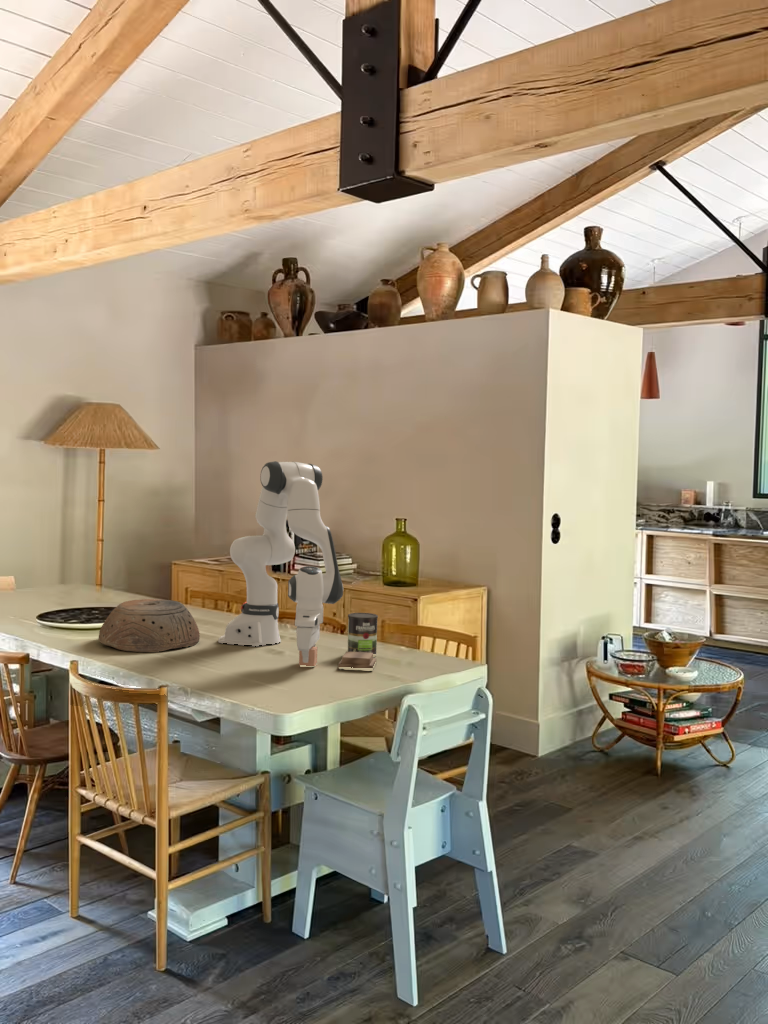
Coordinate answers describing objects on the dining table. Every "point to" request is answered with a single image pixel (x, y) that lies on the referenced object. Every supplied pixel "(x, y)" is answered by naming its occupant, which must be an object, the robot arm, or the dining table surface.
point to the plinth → (357, 660)
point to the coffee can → (362, 632)
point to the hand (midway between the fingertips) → (308, 659)
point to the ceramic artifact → (149, 626)
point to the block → (312, 657)
